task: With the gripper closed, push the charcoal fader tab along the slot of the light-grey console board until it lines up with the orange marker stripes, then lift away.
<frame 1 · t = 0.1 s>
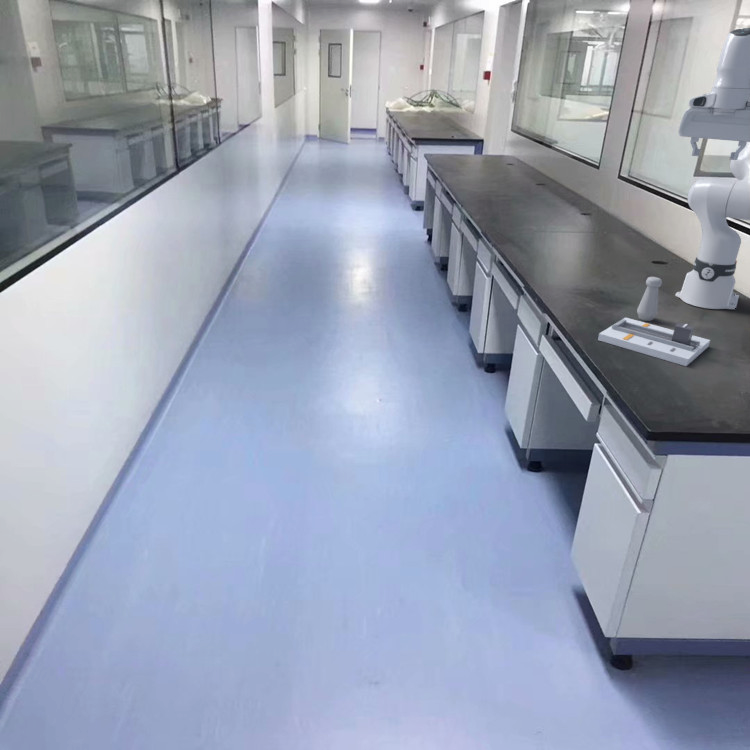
hand: (714, 157, 164), 48 cm above the worktop, fingers open, 8 cm apart
console: (652, 343, 173), on the worktop
salt shaker: (645, 319, 191), on the worktop
fader tab: (682, 334, 167), point 5 cm above the worktop, slide at 0.0 cm
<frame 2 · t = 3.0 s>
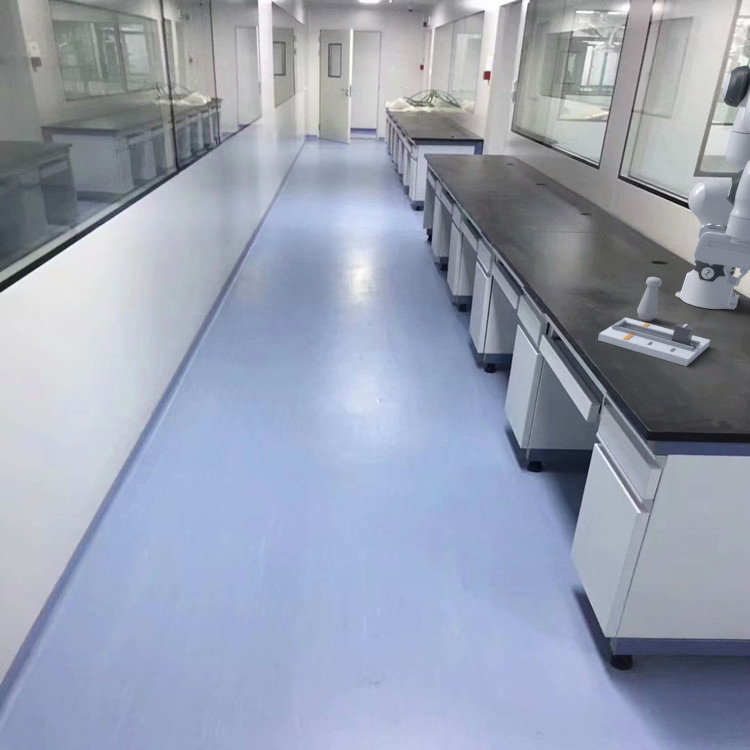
hand: (731, 284, 155), 21 cm above the worktop, fingers closed
nothing on the worktop moved.
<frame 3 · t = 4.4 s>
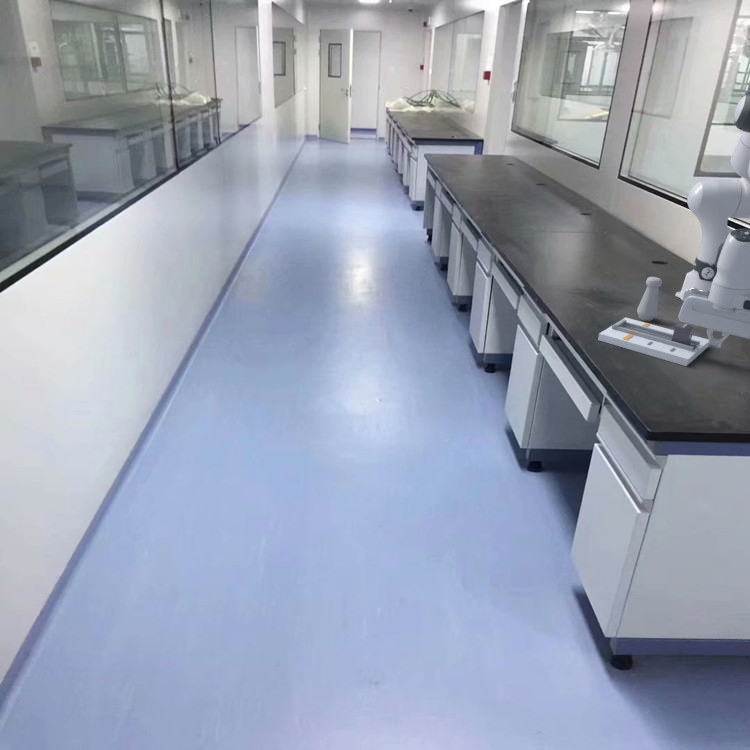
hand: (714, 345, 163), 4 cm above the worktop, fingers closed
nothing on the worktop moved.
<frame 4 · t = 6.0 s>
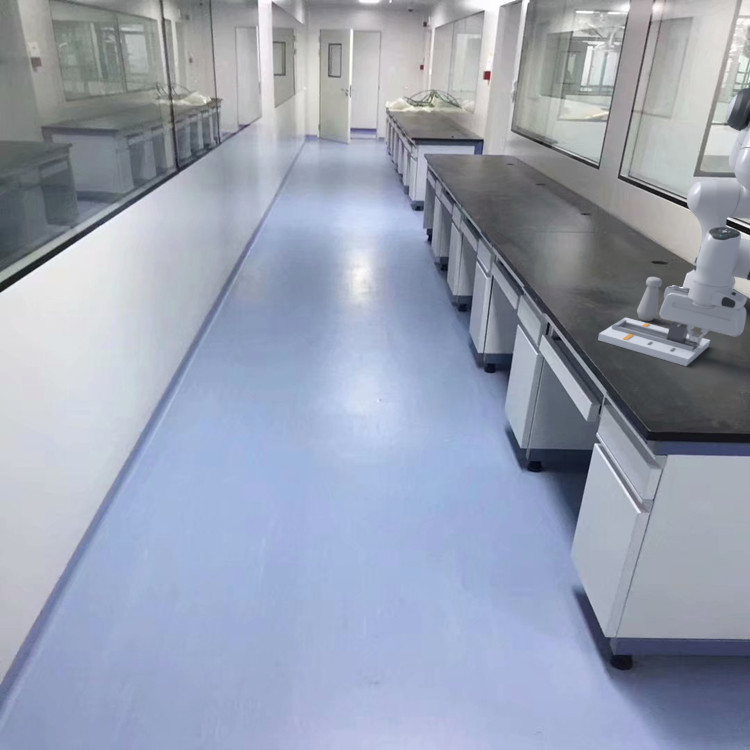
hand: (694, 342, 166), 4 cm above the worktop, fingers closed
fader tab: (677, 333, 168), point 5 cm above the worktop, slide at 1.3 cm, touching gripper
everything else where it was.
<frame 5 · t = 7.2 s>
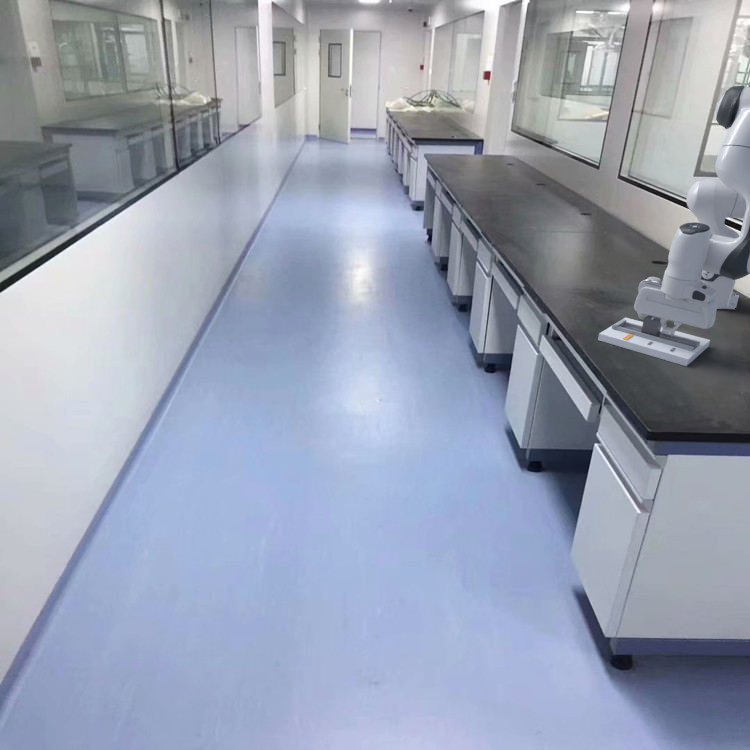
hand: (667, 334, 170), 4 cm above the worktop, fingers closed
fader tab: (651, 326, 172), point 5 cm above the worktop, slide at 8.3 cm, touching gripper
everything else where it was.
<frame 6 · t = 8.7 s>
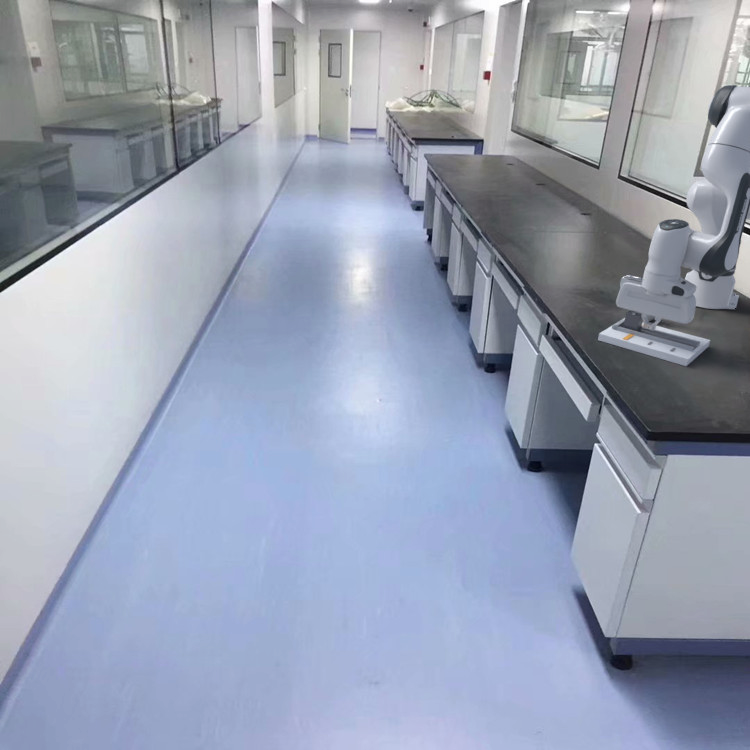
hand: (648, 329, 173), 4 cm above the worktop, fingers closed
fader tab: (633, 321, 175), point 5 cm above the worktop, slide at 13.5 cm, touching gripper
everything else where it was.
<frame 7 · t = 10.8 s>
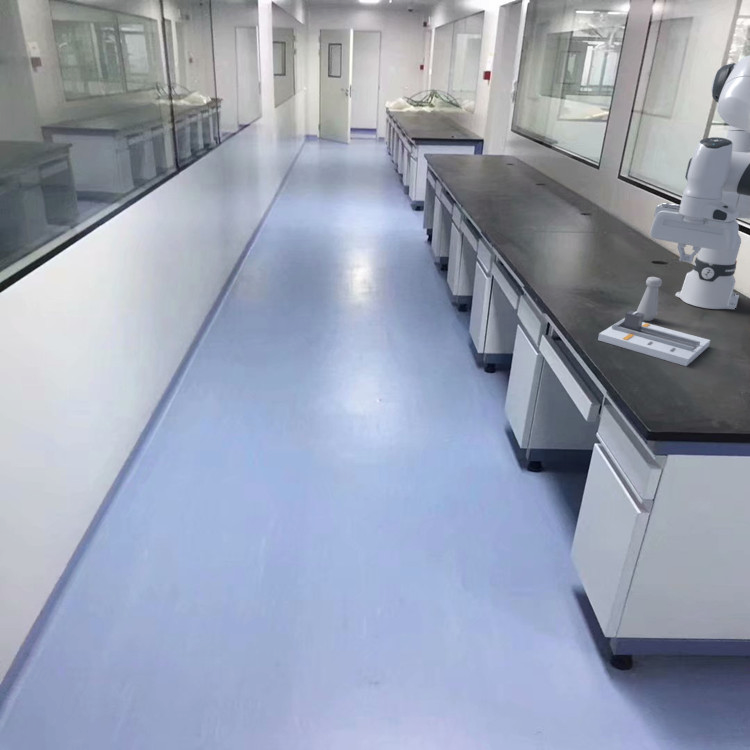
hand: (685, 261, 161), 24 cm above the worktop, fingers closed
fader tab: (633, 321, 175), point 5 cm above the worktop, slide at 13.5 cm
everything else where it was.
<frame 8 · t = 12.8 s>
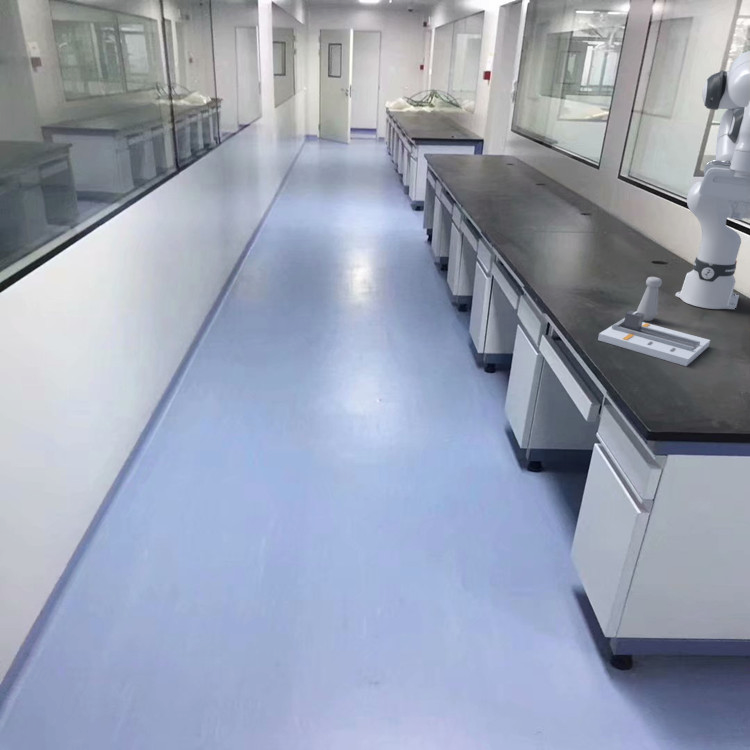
hand: (735, 218, 162), 34 cm above the worktop, fingers closed
nothing on the worktop moved.
at the end: fader tab slide at 13.5 cm; fader tab 1.2 cm from the target spot on the console, point 4.8 cm above the console's base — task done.
